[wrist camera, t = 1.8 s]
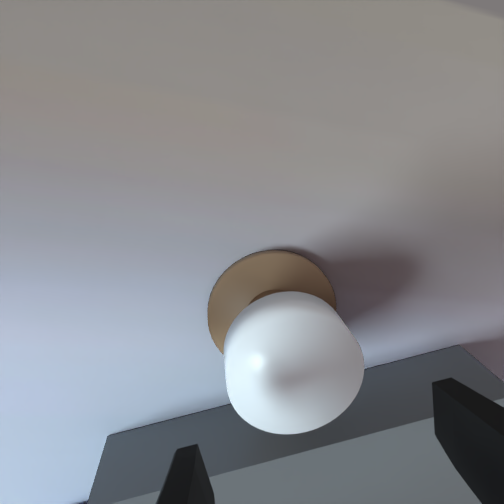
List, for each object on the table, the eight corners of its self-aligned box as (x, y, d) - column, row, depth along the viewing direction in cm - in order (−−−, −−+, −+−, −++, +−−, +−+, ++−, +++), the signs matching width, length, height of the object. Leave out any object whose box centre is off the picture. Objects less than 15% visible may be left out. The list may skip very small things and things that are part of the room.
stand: (339, 347, 20) (366, 390, 17) (223, 377, 20) (228, 426, 17) (323, 236, 18) (349, 260, 15) (193, 267, 18) (191, 299, 15)
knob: (352, 382, 17) (370, 414, 15) (238, 412, 17) (243, 448, 15) (337, 277, 15) (356, 299, 13) (210, 308, 15) (211, 335, 13)
